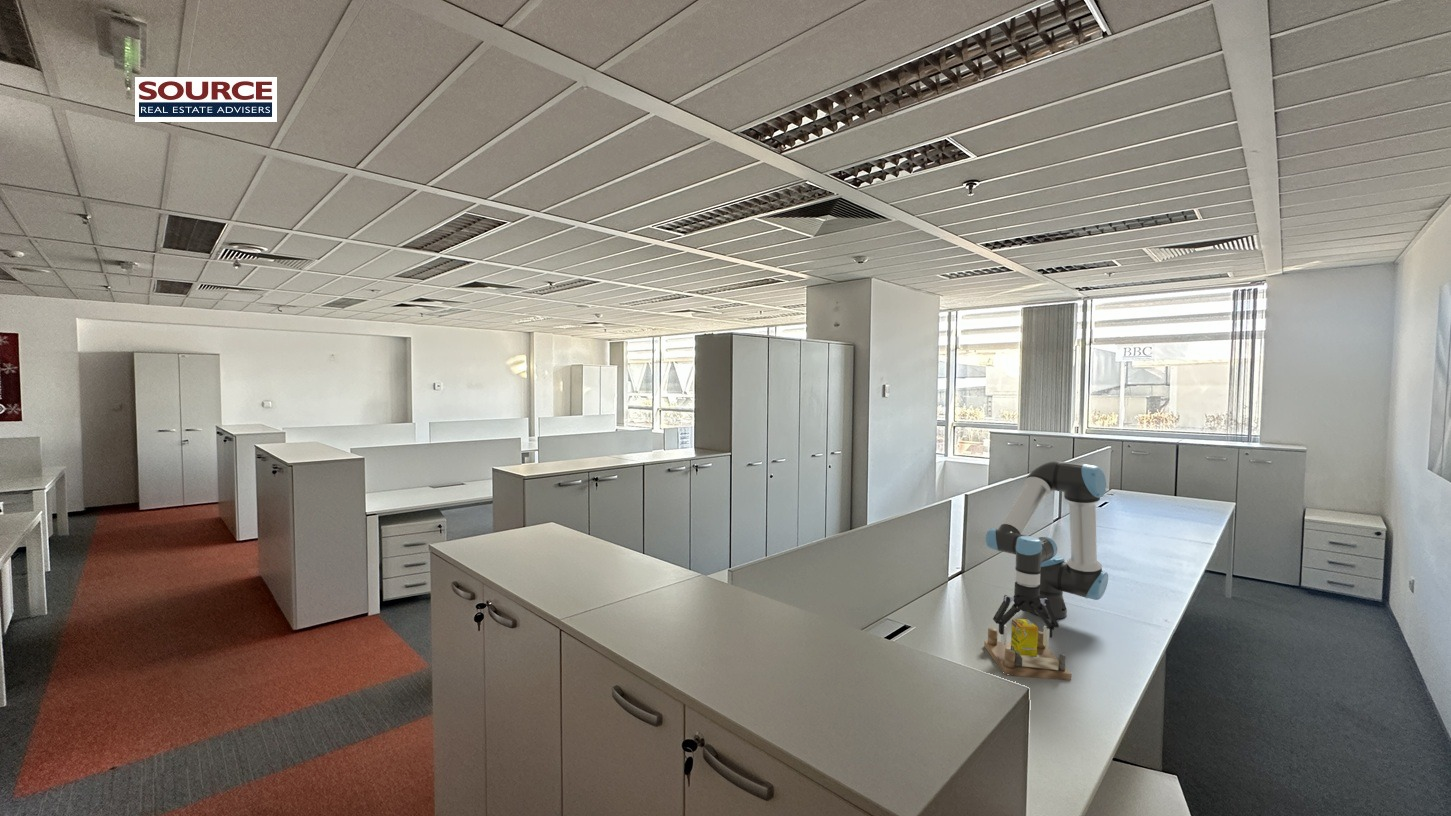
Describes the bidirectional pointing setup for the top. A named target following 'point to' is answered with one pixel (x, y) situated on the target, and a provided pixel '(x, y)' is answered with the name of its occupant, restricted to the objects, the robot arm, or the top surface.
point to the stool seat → (1007, 665)
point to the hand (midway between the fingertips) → (1024, 645)
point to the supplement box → (1024, 637)
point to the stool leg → (1036, 662)
